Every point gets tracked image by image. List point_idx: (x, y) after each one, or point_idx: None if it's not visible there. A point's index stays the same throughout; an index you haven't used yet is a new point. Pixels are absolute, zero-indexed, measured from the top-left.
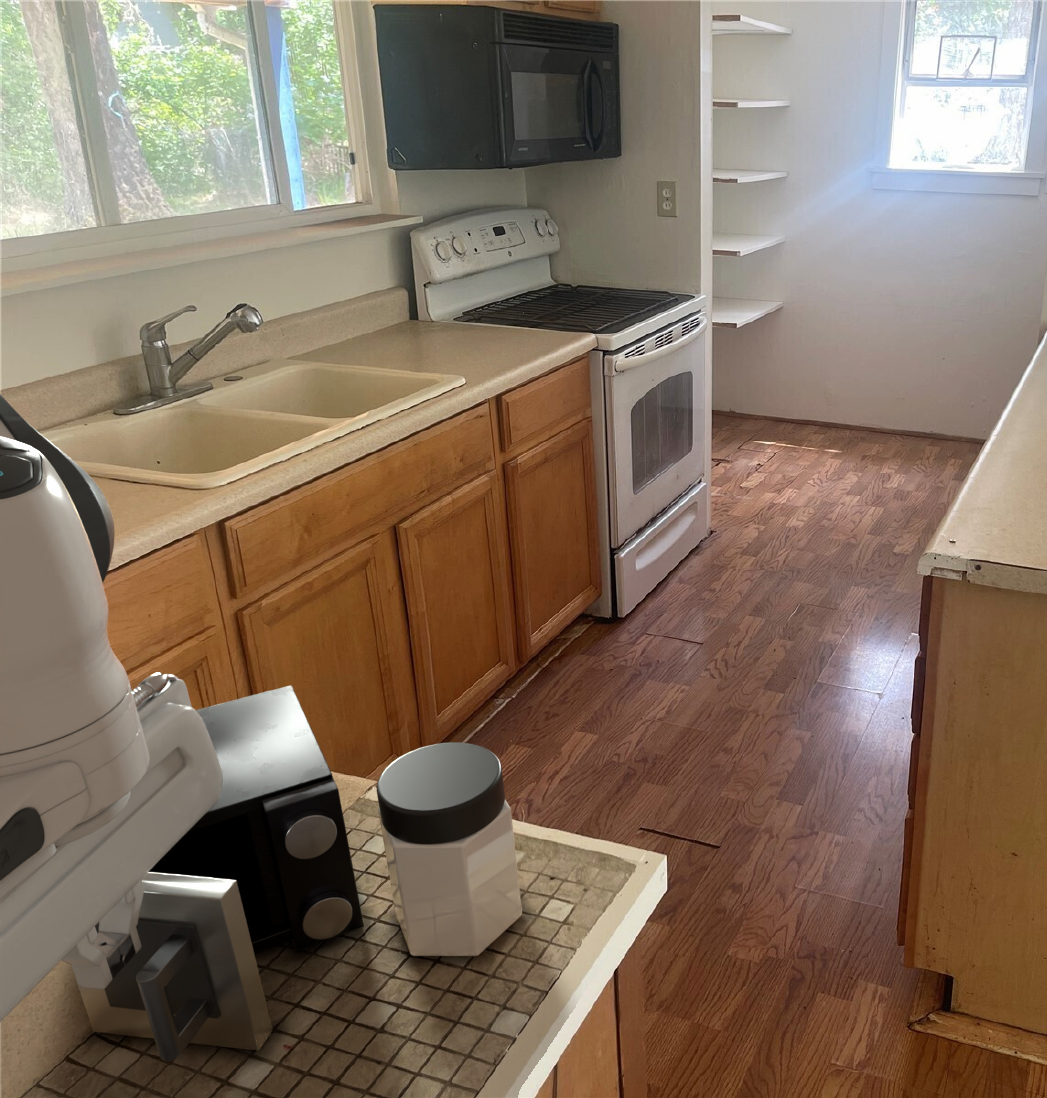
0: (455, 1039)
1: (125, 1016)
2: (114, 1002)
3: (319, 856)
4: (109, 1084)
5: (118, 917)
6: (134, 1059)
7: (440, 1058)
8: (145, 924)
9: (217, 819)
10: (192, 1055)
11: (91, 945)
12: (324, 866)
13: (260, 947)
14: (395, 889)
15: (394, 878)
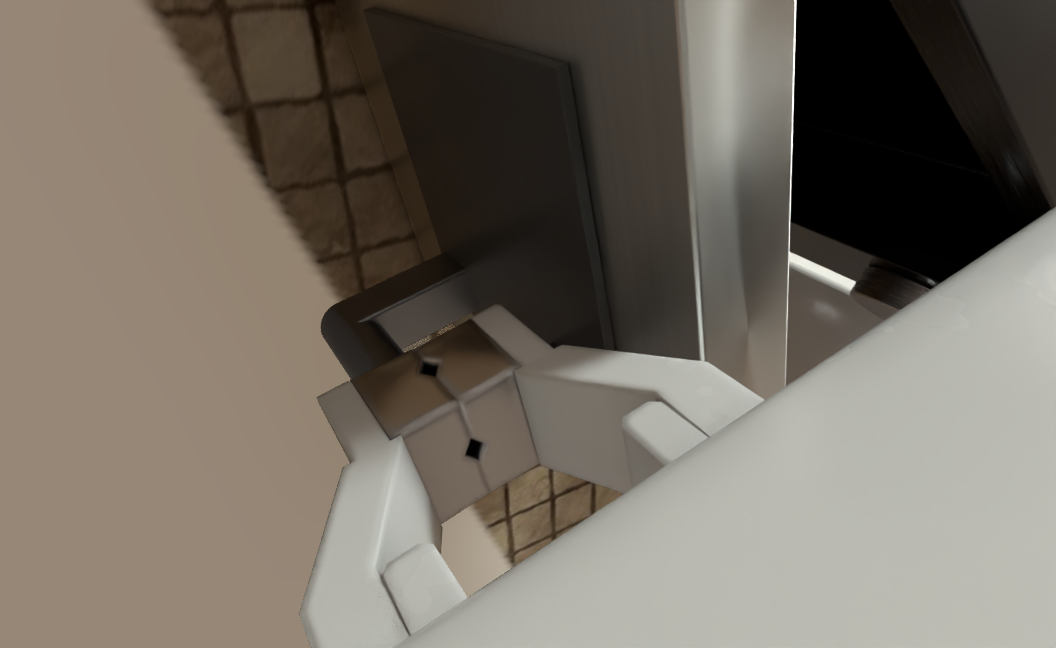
0: (569, 502)
1: (366, 36)
2: (376, 32)
3: (855, 269)
4: (223, 107)
5: (585, 441)
6: (303, 92)
7: (538, 516)
8: (595, 322)
9: (997, 171)
10: (377, 204)
11: (450, 424)
12: (830, 260)
13: None
14: (787, 335)
15: (809, 362)
